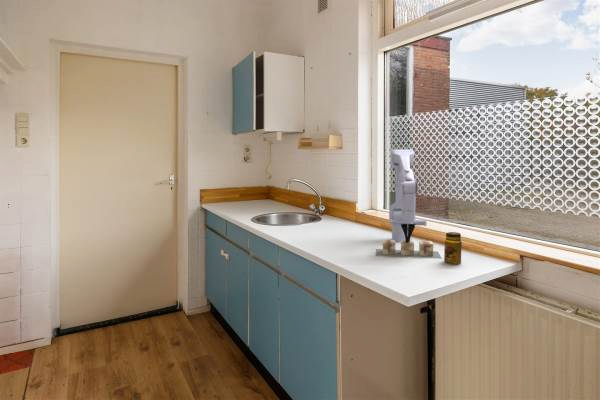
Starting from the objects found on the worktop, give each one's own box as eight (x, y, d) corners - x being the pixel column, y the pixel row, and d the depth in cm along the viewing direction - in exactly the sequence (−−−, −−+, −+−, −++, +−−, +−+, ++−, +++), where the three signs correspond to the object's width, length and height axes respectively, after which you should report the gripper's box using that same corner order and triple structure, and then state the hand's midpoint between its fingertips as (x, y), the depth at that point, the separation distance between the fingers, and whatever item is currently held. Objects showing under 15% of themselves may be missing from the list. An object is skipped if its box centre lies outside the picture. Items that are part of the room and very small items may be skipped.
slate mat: (437, 252, 164) (437, 251, 164) (441, 259, 154) (442, 258, 153) (375, 250, 169) (375, 249, 169) (375, 257, 159) (375, 255, 159)
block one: (394, 251, 165) (394, 239, 164) (395, 254, 160) (395, 242, 159) (382, 251, 166) (382, 239, 165) (382, 254, 161) (383, 242, 160)
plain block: (412, 252, 163) (413, 240, 163) (413, 255, 158) (414, 243, 158) (400, 251, 164) (400, 240, 164) (401, 254, 159) (401, 243, 159)
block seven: (431, 253, 162) (431, 241, 161) (433, 256, 157) (433, 244, 156) (419, 252, 163) (419, 240, 162) (420, 255, 158) (420, 243, 157)
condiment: (442, 265, 146) (443, 234, 145) (443, 259, 154) (444, 230, 153) (462, 267, 143) (464, 235, 142) (463, 261, 151) (464, 231, 150)
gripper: (390, 211, 157) (389, 243, 158) (427, 211, 154) (426, 245, 155) (389, 208, 163) (389, 239, 165) (425, 209, 161) (424, 241, 162)
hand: (407, 242), depth 161 cm, fingers closed, pressing on plain block
